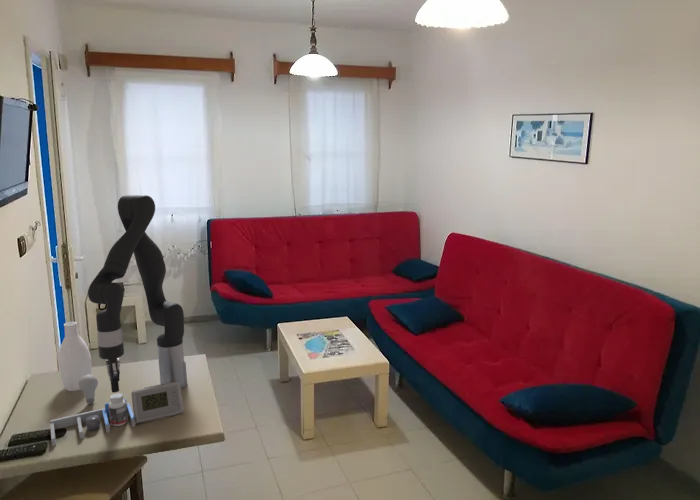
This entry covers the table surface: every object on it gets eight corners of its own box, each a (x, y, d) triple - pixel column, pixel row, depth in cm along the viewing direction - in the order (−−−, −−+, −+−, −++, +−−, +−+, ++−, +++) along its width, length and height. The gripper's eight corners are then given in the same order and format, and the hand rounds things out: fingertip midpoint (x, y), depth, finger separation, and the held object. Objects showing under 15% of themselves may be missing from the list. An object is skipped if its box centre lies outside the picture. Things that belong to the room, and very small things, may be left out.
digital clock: (132, 425, 182) (129, 396, 180) (135, 412, 190) (132, 384, 188) (183, 418, 186) (181, 389, 184) (184, 406, 195) (181, 378, 192)
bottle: (62, 395, 203) (54, 330, 198) (60, 384, 212) (52, 321, 207) (95, 388, 209) (88, 325, 203) (92, 377, 218) (85, 316, 213)
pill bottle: (107, 423, 184) (104, 396, 181) (123, 416, 188) (120, 390, 185) (115, 428, 180) (112, 401, 178) (130, 422, 184) (128, 395, 182)
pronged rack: (129, 410, 192) (128, 397, 191) (135, 425, 182) (134, 411, 181) (51, 428, 180) (49, 414, 179) (52, 446, 170) (50, 431, 169)
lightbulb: (92, 408, 193) (89, 379, 191) (77, 407, 194) (74, 378, 192) (103, 400, 199) (100, 372, 197) (88, 399, 200) (85, 371, 198)
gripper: (125, 346, 174) (130, 396, 178) (120, 333, 185) (124, 381, 189) (100, 350, 170) (105, 402, 174) (96, 337, 182) (101, 386, 185)
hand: (115, 391), depth 181 cm, fingers closed
